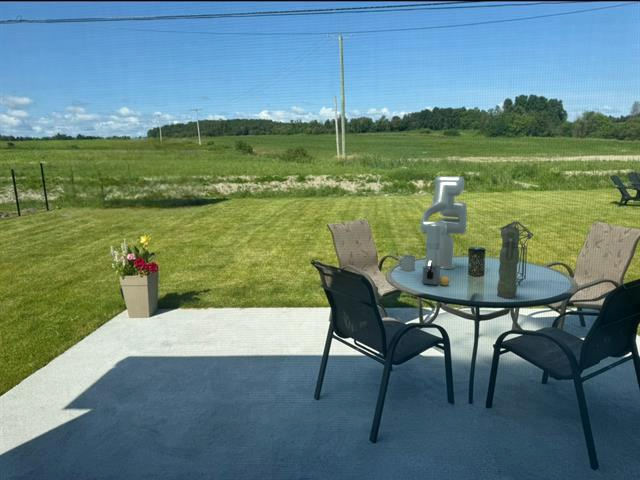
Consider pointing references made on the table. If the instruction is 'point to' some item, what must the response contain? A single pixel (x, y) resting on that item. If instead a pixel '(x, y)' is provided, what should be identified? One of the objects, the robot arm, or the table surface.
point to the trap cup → (435, 275)
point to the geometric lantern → (518, 247)
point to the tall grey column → (508, 263)
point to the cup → (407, 262)
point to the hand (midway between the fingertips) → (431, 277)
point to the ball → (444, 281)
